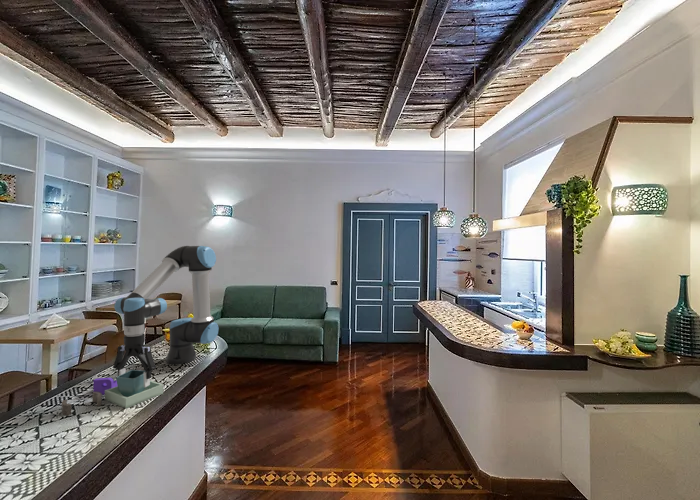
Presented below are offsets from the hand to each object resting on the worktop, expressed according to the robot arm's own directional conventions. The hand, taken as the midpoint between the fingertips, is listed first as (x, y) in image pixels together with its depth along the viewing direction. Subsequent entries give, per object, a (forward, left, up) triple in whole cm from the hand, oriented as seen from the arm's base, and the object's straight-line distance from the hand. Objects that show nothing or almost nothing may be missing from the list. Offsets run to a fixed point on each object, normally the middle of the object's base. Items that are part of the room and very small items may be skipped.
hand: (134, 385), depth 146 cm
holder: (+17, -5, -5) cm, 18 cm away
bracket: (+4, -18, -6) cm, 19 cm away
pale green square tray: (0, 0, -5) cm, 5 cm away
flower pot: (0, -1, -4) cm, 4 cm away
